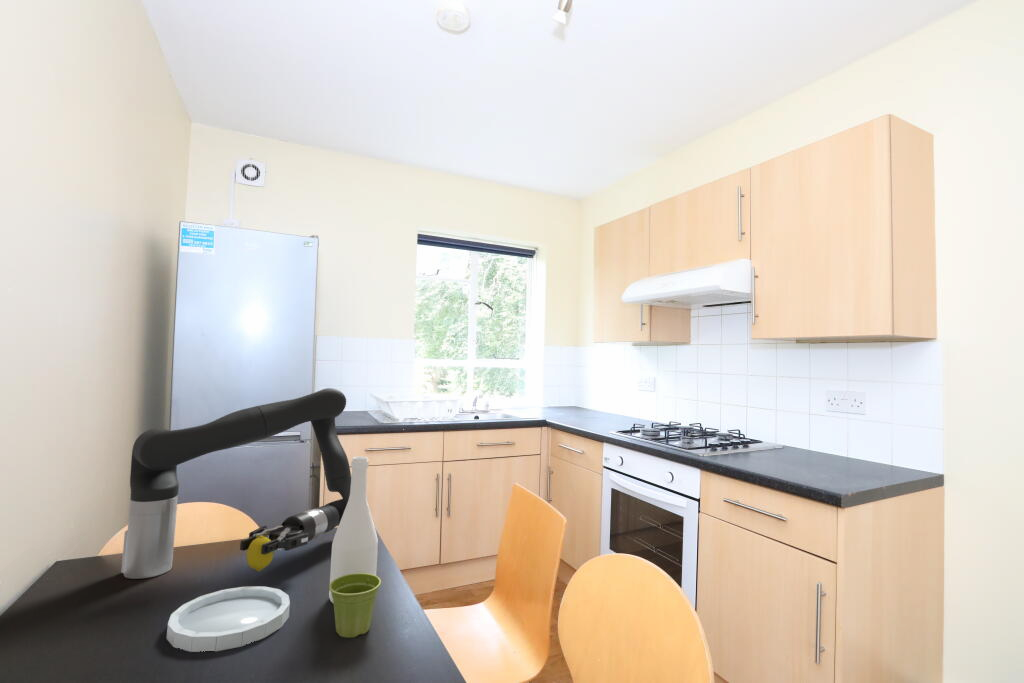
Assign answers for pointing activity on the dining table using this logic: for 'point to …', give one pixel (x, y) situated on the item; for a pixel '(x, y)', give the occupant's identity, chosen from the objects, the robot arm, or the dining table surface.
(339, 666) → the dining table surface
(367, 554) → the wine bottle
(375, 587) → the plant pot
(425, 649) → the dining table surface
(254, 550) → the lemon
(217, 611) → the dish
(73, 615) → the dining table surface
